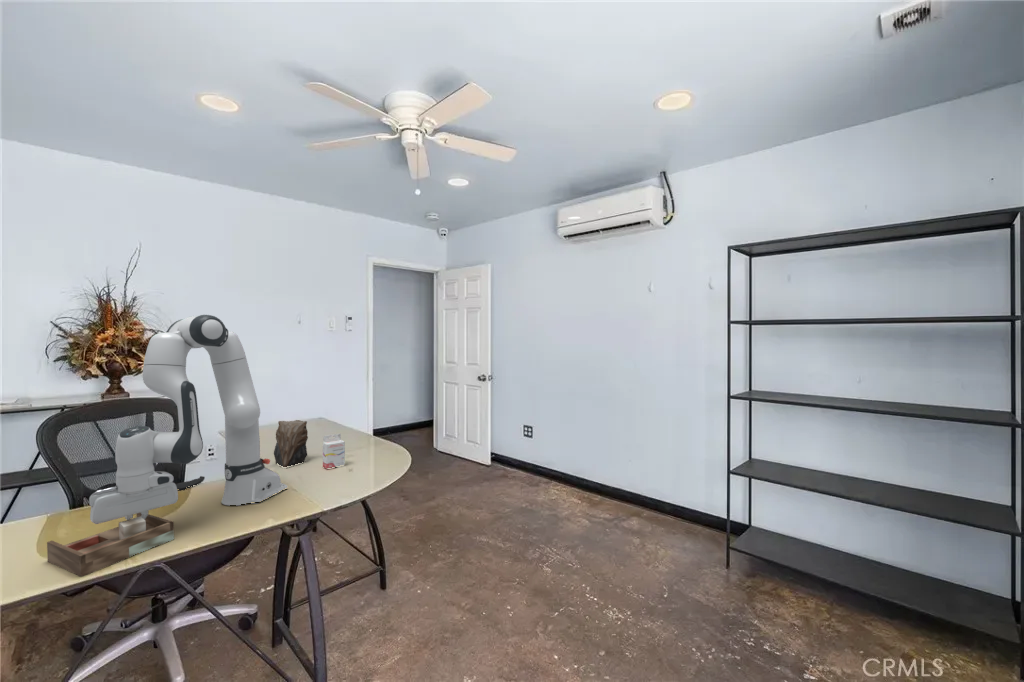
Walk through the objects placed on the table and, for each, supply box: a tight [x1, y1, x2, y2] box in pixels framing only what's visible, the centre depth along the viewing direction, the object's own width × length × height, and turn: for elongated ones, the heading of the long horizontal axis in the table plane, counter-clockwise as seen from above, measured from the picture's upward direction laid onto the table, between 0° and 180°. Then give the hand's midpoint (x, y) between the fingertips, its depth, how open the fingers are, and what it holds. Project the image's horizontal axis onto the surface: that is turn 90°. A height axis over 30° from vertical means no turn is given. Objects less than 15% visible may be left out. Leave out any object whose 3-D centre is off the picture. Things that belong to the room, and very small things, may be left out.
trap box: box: [46, 512, 175, 578], centre depth 130 cm, size 22×18×6 cm
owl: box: [273, 419, 309, 467], centre depth 210 cm, size 13×13×20 cm
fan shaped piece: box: [175, 475, 205, 491], centre depth 183 cm, size 8×14×2 cm, turn 165°
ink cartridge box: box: [322, 433, 346, 470], centre depth 205 cm, size 9×5×15 cm, turn 133°
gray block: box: [118, 516, 146, 540], centre depth 130 cm, size 5×5×5 cm
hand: (137, 527), depth 134 cm, fingers closed
